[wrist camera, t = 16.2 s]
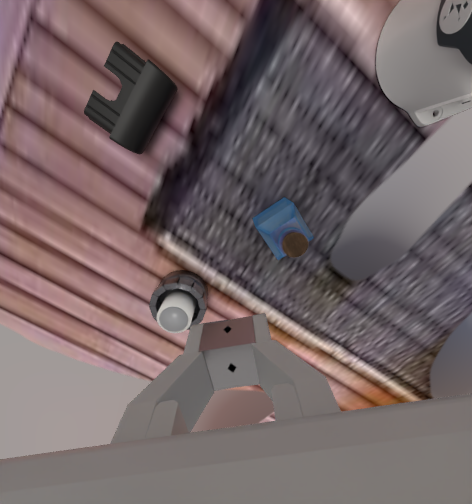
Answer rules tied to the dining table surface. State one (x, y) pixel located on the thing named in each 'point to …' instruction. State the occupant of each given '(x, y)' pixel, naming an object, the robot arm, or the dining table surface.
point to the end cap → (132, 100)
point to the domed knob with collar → (184, 282)
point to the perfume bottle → (283, 229)
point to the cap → (176, 311)
